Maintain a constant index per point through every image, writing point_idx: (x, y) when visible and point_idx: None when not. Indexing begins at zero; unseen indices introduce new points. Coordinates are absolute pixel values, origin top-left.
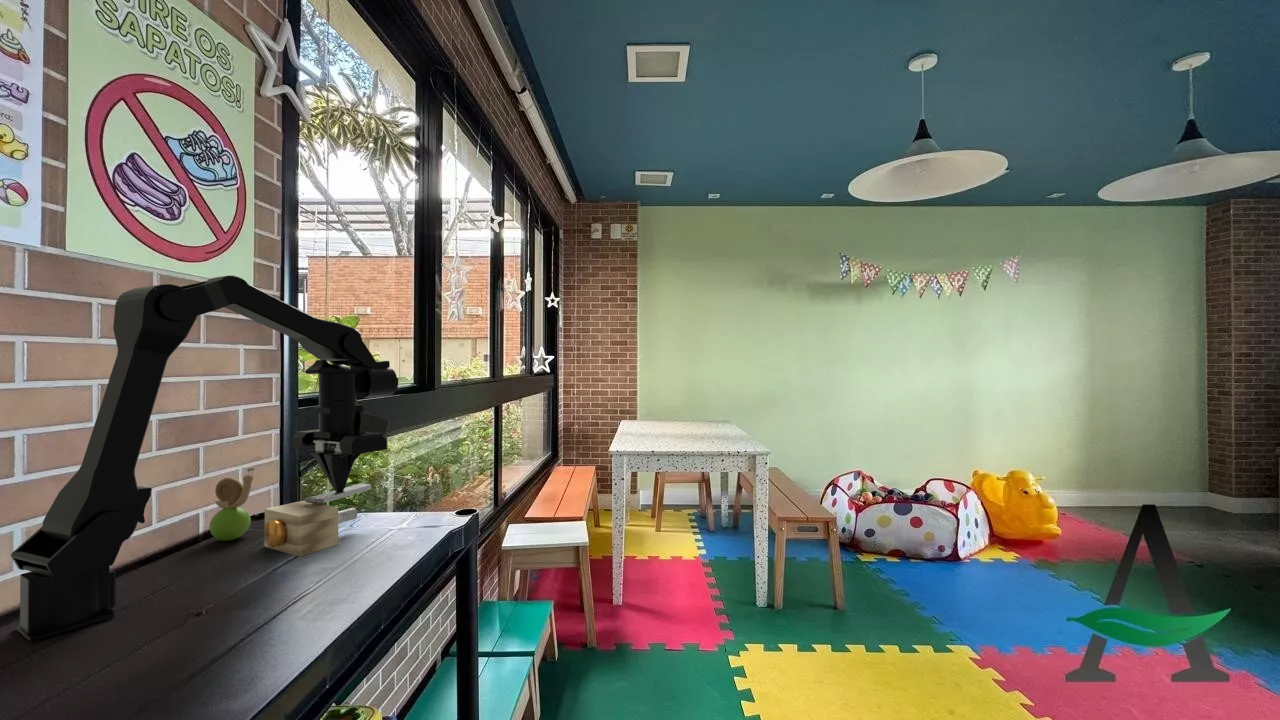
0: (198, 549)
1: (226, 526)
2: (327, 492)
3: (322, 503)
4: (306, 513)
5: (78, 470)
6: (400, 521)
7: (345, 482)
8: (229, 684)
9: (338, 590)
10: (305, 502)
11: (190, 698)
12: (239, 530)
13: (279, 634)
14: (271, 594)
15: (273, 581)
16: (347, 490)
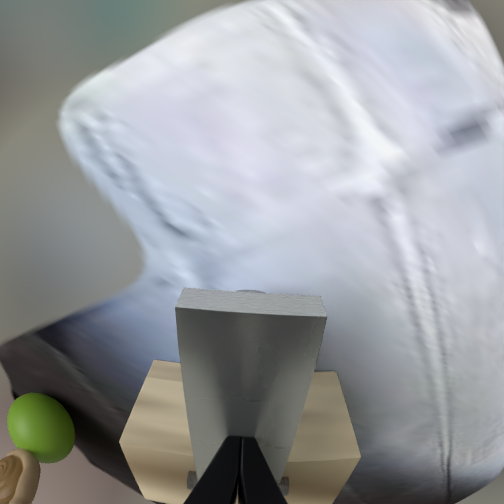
0: (82, 443)
1: (70, 451)
2: (196, 458)
3: (288, 479)
4: (320, 501)
5: None
6: (318, 105)
7: (272, 476)
8: (474, 487)
9: (478, 436)
10: (161, 458)
11: (463, 497)
12: (71, 428)
13: (470, 473)
14: (408, 476)
15: (376, 473)
16: (274, 429)
